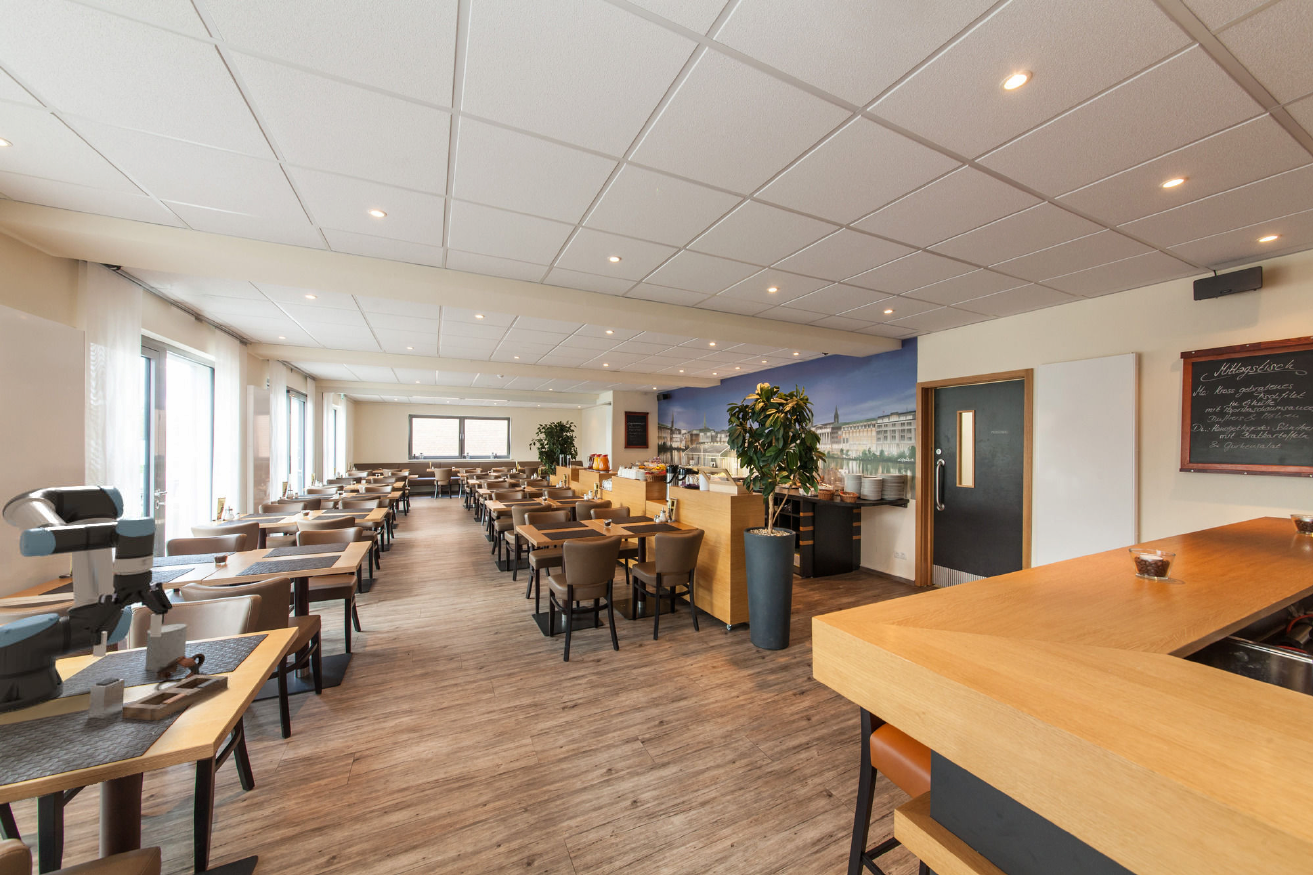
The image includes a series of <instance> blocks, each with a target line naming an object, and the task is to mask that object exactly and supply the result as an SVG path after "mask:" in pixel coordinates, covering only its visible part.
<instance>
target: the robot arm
mask: <svg viewBox="0 0 1313 875" xmlns="http://www.w3.org/2000/svg"><path fill="white" fill-rule="evenodd" d="M124 507H125V505H124V500H123V497H122V494H121V492H120V491H119V489H118V488H116V487H115V486H113V485H97V484H96V485H85V486H84V485H83V486H57V487H54V486H53V487H52V486H51V487H49V486H48V487H47V486H46V487H42V488H41V487H40V488H36V489H31V490H28V491H25V492H22V493H20V494H18V495H16V496H14V497H13V498H11V499H10V500H8V501H7V502H6V503H5V504H4V506H3V509H2V511H1V512H2V514H1V515H2V517H3V519H4V520H5V522H6V523H8V524H9V525H10V526H12V527H16V528H18V530H20V531H21V532H22V533H21V534H20V536H19V543H18V545H19V552H20V555H21V556H22V557H25V558H32V557H46V556H52V555H62V554H69V553H71V568H72V570H71V571H72V588H73V589H72V590H73V605H71V606H70V607H69V608H68V609H67V610H66V615H64V616H60V615H59V614H58V613H55V612H54V613H46V614H45V613H44V614H38V615H33V616H28V617H24V618H21V619H17V620H14V621H12V622H8V623H6V624H4V625H1V626H0V714H2V713H3V714H4V713H8V712H14V711H18V710H22V709H26V708H29V707H33V706H35V705H38V704H41V703H44V702H47V701H50V700H51V699H54V698H56V697H58V696H59V695H61V694H62V693H63V692H64V686H65V685H64V680H63V679H62V677H61V675H60V673H59V671H58V669H57V667H56V664H57V663H56V662H57V658H59V657H63V656H67V655H72V654H75V653H79V652H81V653H82V652H83V651H84V652H85V651H90V650H93V651H92V656H93V657H95V658H96V657H99V658H103V657H106V656H107V646H109V645H114V644H118V643H121V642H122V641H123V640H125V638H126V637H127V636H128V634H129V632H130V628H131V625H132V620H133V609H132V605H135V604H140V603H142V604H143V605H144V606H145V607H147V608H148V609H149V610H151V612H153V614H151V615H150V623H149V624H150V627H149V630H150V637H160V636H161V627H162V625H164V623H165V615H166V614H168V613H169V610H172V609H173V605H172V603H171V602H170V599H169V598H168V596H167V595H166V592H165V590H164V587H163V582H160V581H153V570H152V568H154V566H153V565H154V552H155V550H154V549H155V540H156V539H155V537H156V530H157V527H156V519H155V517H152V516H132V517H131V516H130V517H123V515H124V512H125V511H124ZM121 517H123V518H121ZM120 518H121V519H120ZM118 519H119V520H118ZM113 549H114V550H115V552H114V554H115V555H114V558H113ZM113 559H114V560H113ZM149 592H151V594H152V595H153V597H154V599H153V597H152V595H150V594H149ZM155 600H156V601H155Z"/></svg>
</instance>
